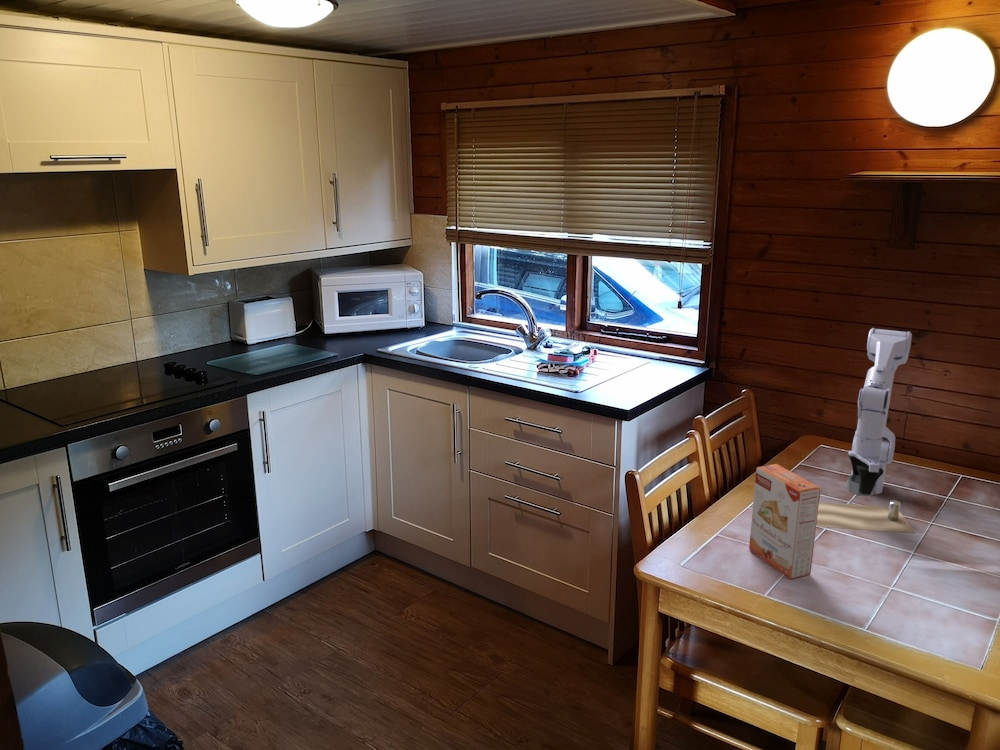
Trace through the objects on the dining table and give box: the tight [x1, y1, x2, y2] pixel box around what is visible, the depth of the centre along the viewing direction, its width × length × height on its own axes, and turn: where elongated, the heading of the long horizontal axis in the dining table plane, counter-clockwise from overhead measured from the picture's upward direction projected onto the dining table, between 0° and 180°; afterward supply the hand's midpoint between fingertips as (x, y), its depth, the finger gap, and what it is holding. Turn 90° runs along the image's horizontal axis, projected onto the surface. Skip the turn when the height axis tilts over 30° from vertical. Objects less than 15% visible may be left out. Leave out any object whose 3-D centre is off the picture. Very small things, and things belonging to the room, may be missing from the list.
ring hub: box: [846, 474, 877, 497], centre depth 189 cm, size 6×6×3 cm
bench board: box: [816, 501, 916, 534], centre depth 192 cm, size 14×22×1 cm, turn 81°
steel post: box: [888, 499, 902, 521], centre depth 189 cm, size 3×2×4 cm
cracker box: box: [748, 463, 822, 580], centre depth 170 cm, size 14×6×21 cm, turn 21°
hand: (861, 488), depth 189 cm, fingers closed on ring hub, 6 cm apart
